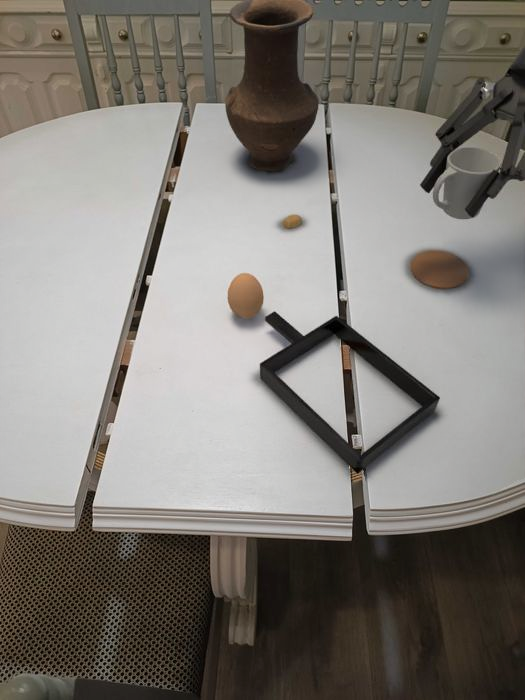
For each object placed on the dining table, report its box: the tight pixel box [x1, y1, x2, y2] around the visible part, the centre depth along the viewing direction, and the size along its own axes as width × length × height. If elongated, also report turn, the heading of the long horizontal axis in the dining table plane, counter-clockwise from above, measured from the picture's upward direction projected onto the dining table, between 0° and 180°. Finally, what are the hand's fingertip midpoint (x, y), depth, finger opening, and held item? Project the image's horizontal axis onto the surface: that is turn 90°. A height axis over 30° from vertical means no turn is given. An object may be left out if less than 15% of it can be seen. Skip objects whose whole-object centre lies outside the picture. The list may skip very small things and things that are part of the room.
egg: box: [227, 272, 265, 319], centre depth 85 cm, size 6×6×8 cm
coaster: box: [409, 250, 470, 290], centre depth 94 cm, size 10×10×1 cm
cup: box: [432, 146, 502, 221], centre depth 81 cm, size 8×10×8 cm
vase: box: [225, 0, 320, 172], centre depth 108 cm, size 19×19×30 cm
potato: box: [282, 214, 303, 229], centre depth 103 cm, size 3×4×2 cm, turn 117°
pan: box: [259, 311, 441, 474], centre depth 77 cm, size 27×15×4 cm, turn 39°
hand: (446, 201), depth 80 cm, fingers closed on cup, 8 cm apart
